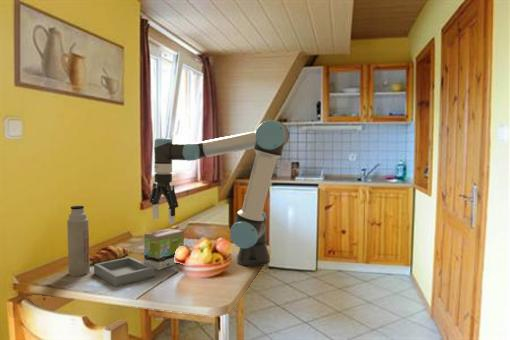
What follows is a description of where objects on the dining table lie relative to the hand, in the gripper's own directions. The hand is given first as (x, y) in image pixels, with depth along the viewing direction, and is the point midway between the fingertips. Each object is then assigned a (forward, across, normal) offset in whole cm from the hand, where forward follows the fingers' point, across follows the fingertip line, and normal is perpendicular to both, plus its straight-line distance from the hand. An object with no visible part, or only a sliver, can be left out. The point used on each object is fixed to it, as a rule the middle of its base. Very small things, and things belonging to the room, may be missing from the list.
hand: (163, 221), depth 175 cm
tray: (+20, +2, -20) cm, 28 cm away
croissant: (+20, -24, -14) cm, 34 cm away
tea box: (+20, 0, 0) cm, 20 cm away
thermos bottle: (+20, -14, -32) cm, 40 cm away
